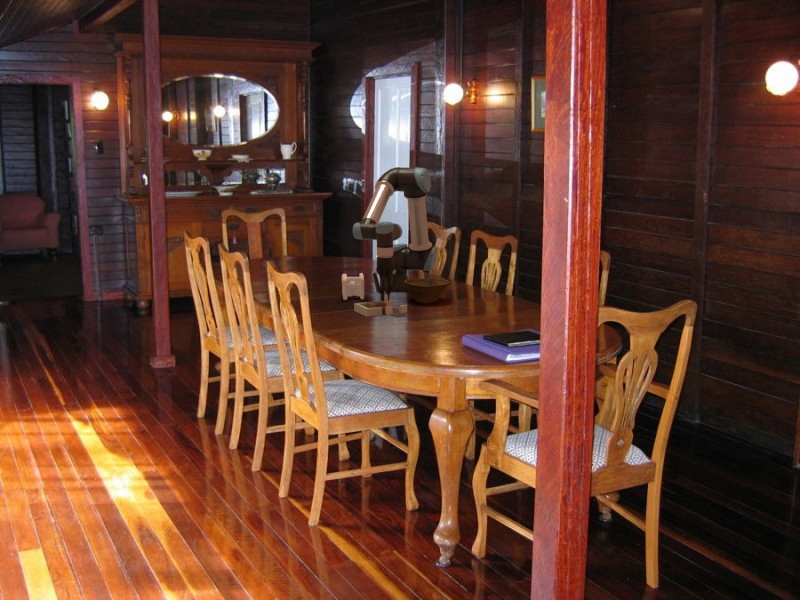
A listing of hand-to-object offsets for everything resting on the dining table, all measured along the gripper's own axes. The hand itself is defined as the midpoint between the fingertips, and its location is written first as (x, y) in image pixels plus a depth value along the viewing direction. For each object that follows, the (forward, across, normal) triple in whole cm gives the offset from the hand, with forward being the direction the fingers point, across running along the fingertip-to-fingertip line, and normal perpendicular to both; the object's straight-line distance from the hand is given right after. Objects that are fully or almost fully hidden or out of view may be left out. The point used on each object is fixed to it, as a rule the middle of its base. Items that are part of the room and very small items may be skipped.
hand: (384, 308), depth 418 cm
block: (+2, +4, 0) cm, 5 cm away
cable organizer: (+2, +1, -36) cm, 36 cm away
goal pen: (+2, +8, 0) cm, 9 cm away
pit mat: (+2, -3, +10) cm, 11 cm away
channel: (+2, -3, 0) cm, 3 cm away
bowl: (+2, -28, -13) cm, 31 cm away
